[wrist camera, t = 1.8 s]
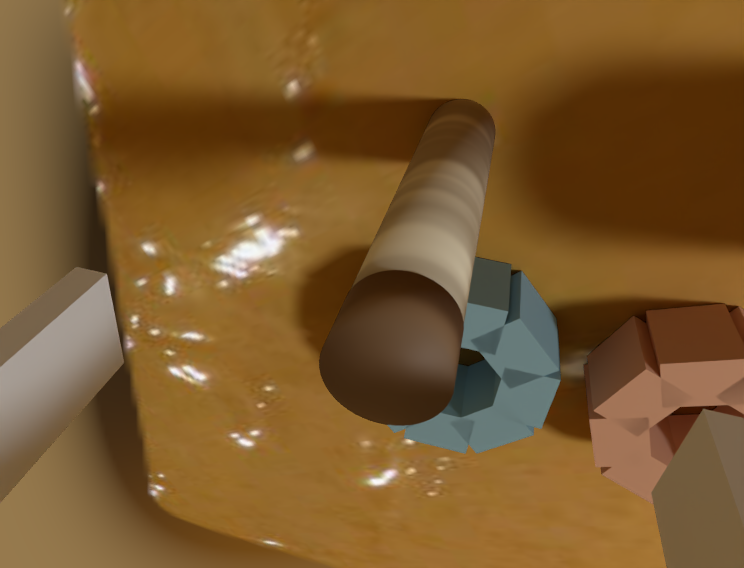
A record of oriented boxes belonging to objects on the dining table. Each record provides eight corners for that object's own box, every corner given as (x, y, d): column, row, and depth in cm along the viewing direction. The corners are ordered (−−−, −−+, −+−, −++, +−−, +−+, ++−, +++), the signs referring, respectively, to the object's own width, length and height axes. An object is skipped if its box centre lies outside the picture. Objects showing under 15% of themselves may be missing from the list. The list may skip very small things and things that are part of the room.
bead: (382, 237, 29) (363, 280, 26) (576, 278, 28) (582, 327, 25) (364, 375, 35) (347, 423, 32) (526, 413, 34) (524, 468, 31)
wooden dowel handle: (432, 93, 25) (322, 307, 12) (502, 105, 24) (466, 340, 12) (422, 158, 27) (316, 407, 14) (487, 171, 26) (441, 438, 13)
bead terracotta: (577, 316, 29) (582, 368, 26) (805, 296, 26) (844, 353, 23) (594, 449, 34) (601, 507, 31) (790, 446, 31) (820, 511, 28)
